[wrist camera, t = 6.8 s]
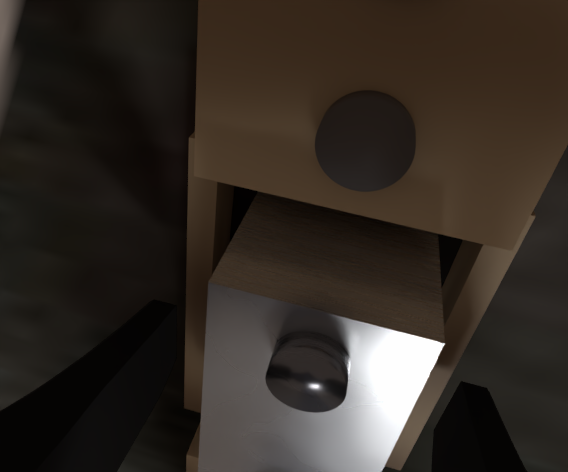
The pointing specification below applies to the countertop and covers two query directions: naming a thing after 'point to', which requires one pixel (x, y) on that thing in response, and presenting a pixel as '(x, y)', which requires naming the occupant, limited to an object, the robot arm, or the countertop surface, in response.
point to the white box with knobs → (316, 339)
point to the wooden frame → (378, 137)
